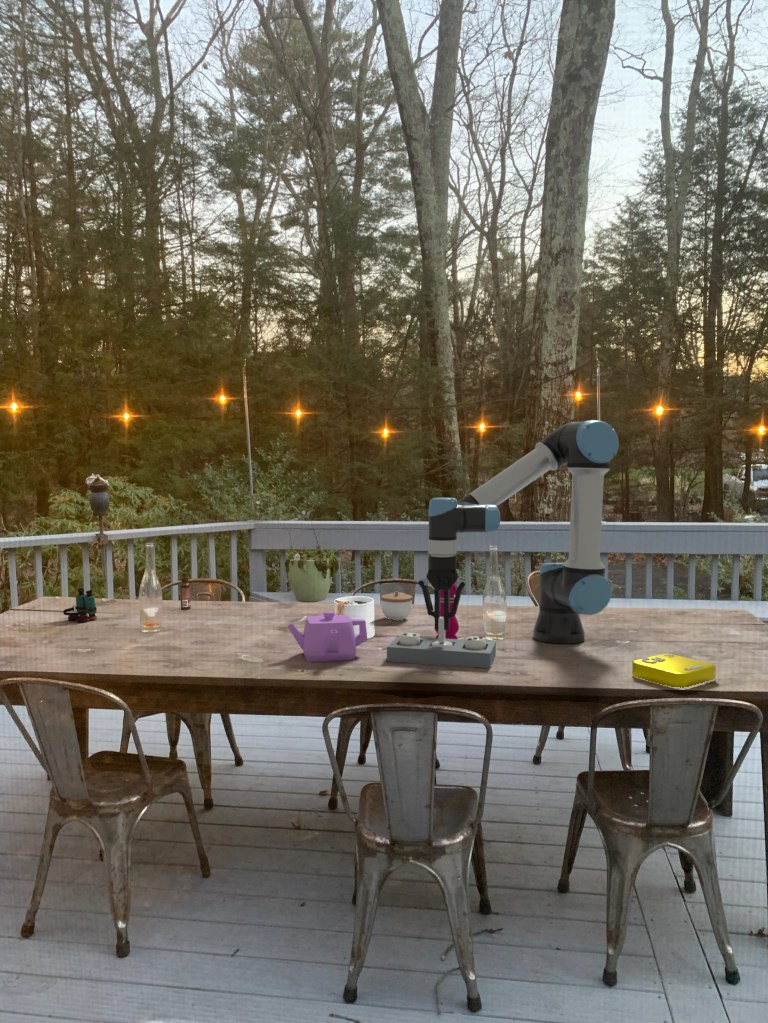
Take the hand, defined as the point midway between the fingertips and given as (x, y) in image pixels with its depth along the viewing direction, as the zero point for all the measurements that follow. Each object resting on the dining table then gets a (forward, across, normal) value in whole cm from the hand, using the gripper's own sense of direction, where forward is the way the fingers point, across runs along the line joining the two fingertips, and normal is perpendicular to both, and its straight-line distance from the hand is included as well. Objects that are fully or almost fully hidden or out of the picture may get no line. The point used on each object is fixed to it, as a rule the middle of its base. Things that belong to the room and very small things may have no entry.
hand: (441, 641), depth 207 cm
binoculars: (+5, +126, -18) cm, 127 cm away
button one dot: (+4, 0, 0) cm, 4 cm away
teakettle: (+5, +31, +5) cm, 32 cm away
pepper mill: (+5, +2, -19) cm, 20 cm away
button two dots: (+2, +9, 0) cm, 9 cm away
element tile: (+5, -59, +4) cm, 59 cm away
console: (+5, 0, 0) cm, 5 cm away
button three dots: (+2, -9, 0) cm, 9 cm away
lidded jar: (+5, +24, -47) cm, 53 cm away
